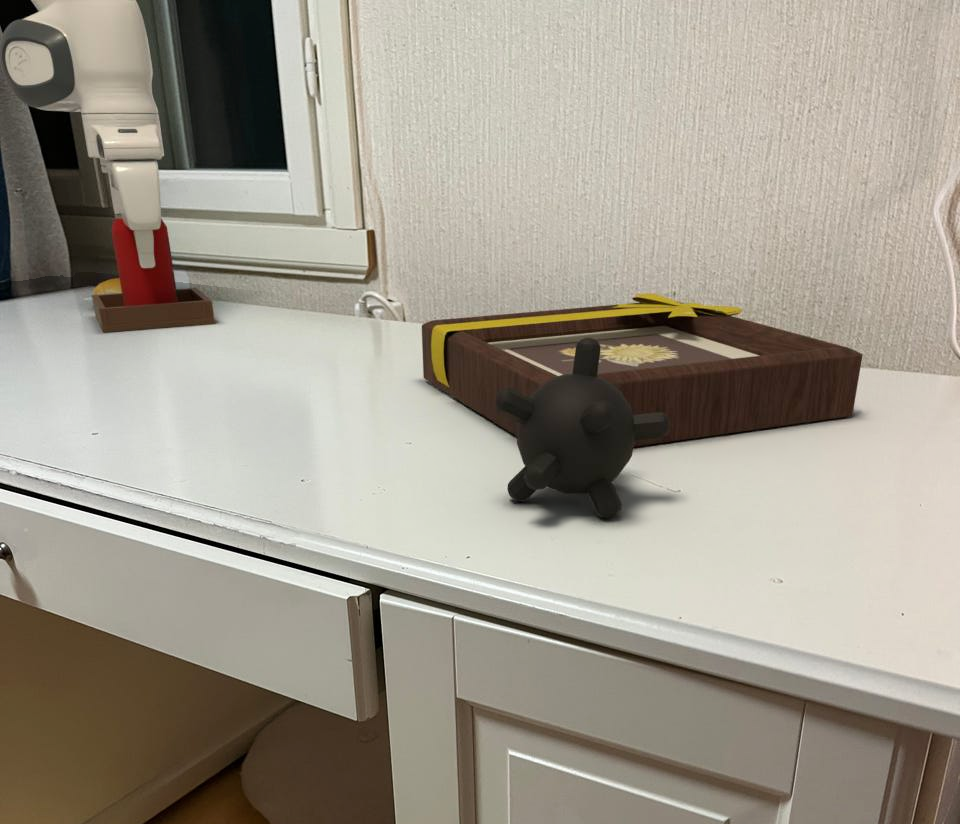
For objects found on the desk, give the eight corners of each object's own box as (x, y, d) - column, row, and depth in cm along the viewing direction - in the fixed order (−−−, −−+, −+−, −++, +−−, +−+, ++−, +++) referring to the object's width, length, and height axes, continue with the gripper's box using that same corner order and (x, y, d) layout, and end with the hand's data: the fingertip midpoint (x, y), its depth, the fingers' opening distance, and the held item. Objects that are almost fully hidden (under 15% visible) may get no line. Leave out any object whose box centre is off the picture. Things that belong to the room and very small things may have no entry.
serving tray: (103, 332, 121) (98, 309, 120) (95, 316, 131) (91, 294, 130) (215, 323, 126) (211, 300, 125) (199, 309, 136) (196, 287, 135)
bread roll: (169, 301, 142) (164, 272, 141) (137, 312, 135) (132, 281, 133) (117, 300, 144) (112, 271, 142) (83, 310, 136) (77, 279, 134)
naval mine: (428, 464, 63) (519, 378, 70) (544, 581, 64) (621, 485, 71) (516, 367, 54) (608, 281, 62) (647, 504, 56) (723, 404, 63)
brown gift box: (415, 310, 93) (686, 288, 103) (418, 381, 96) (680, 353, 106) (546, 372, 70) (879, 336, 80) (544, 462, 73) (865, 416, 83)
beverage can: (188, 309, 131) (174, 211, 125) (164, 318, 125) (149, 216, 119) (141, 308, 132) (125, 211, 126) (115, 317, 126) (98, 215, 120)
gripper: (90, 140, 126) (110, 255, 133) (103, 143, 110) (125, 274, 116) (141, 140, 129) (158, 253, 135) (162, 142, 112) (180, 271, 118)
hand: (143, 263), depth 125 cm, fingers open, 8 cm apart
